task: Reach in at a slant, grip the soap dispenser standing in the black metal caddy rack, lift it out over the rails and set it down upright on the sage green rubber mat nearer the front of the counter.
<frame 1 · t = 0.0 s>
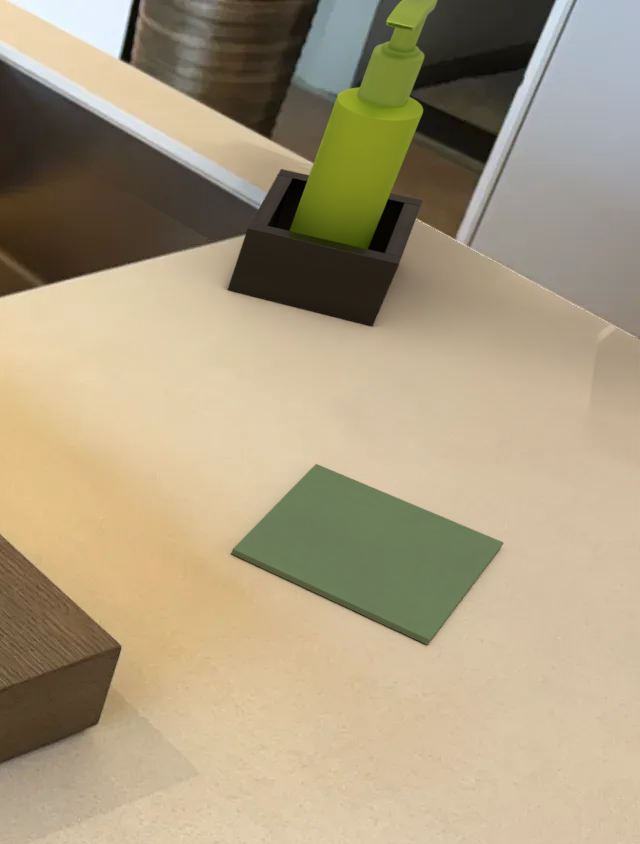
soap dispenser: (313, 277, 107), resting in caddy rack
mat: (366, 550, 83), on the worktop
caddy rack: (313, 274, 107), on the worktop
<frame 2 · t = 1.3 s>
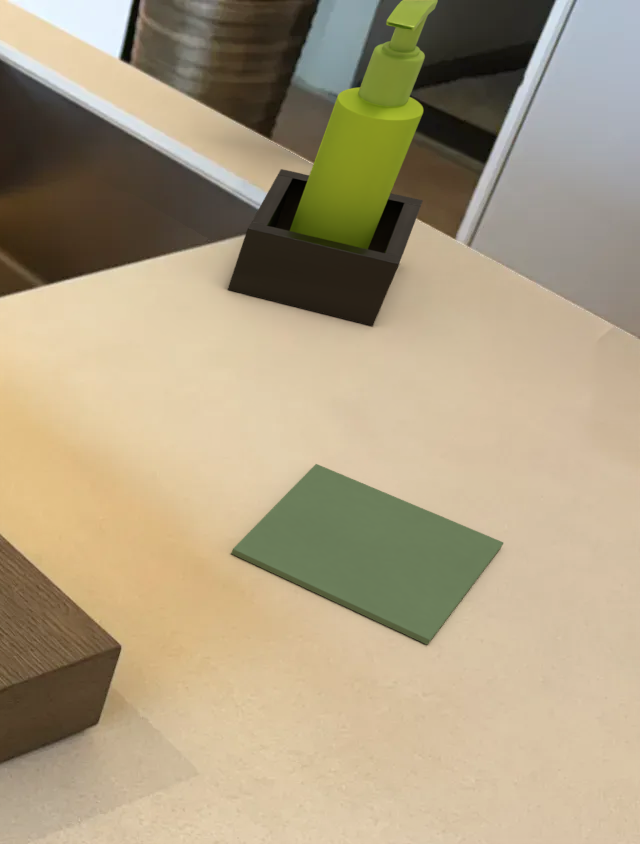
nothing on the worktop moved.
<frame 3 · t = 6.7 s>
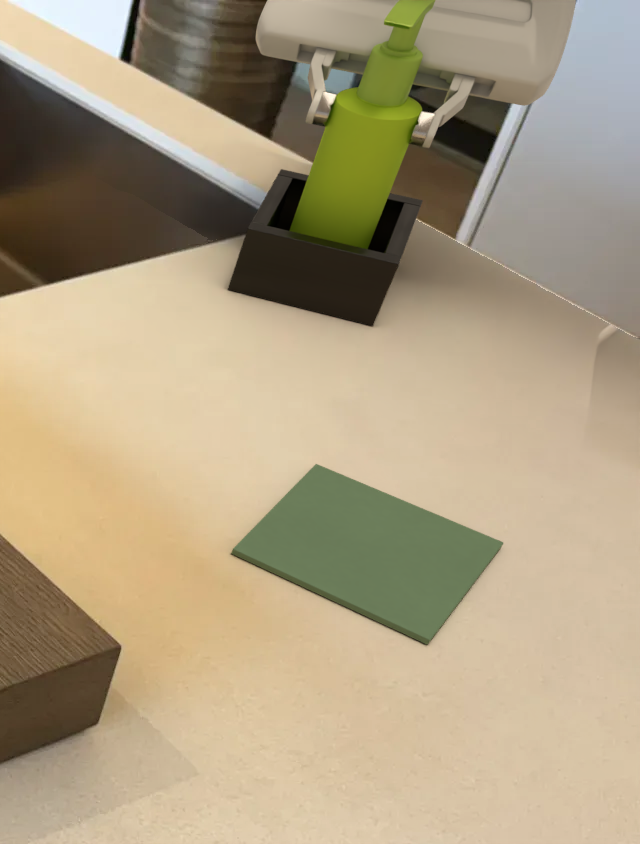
hand: (368, 132, 98), 11 cm above the worktop, tool tilted 45°, fingers closed on soap dispenser, 6 cm apart
soap dispenser: (313, 277, 107), resting in caddy rack, touching gripper
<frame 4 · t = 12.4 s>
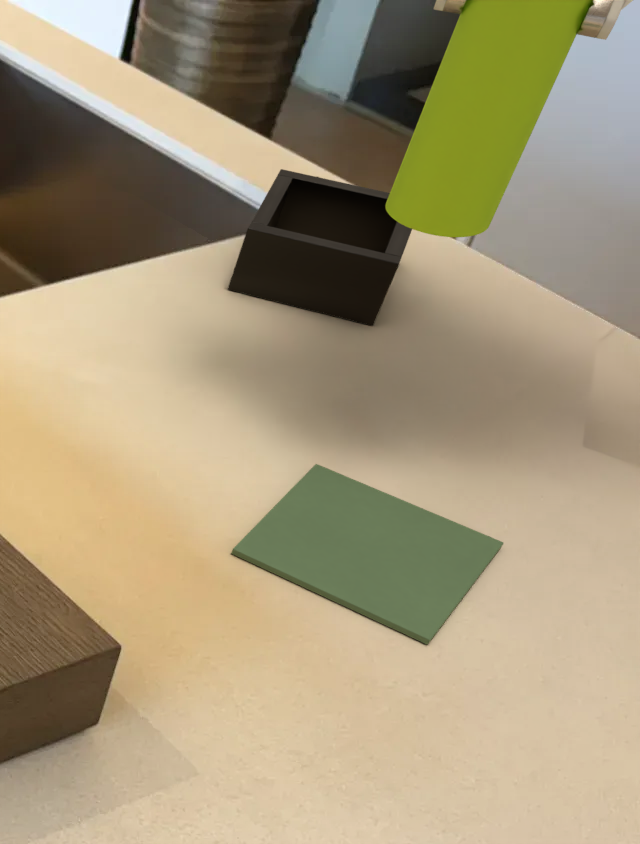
hand: (521, 19, 73), 26 cm above the worktop, tool tilted 45°, fingers closed on soap dispenser, 6 cm apart
soap dispenser: (433, 221, 82), point 15 cm above the worktop, touching gripper
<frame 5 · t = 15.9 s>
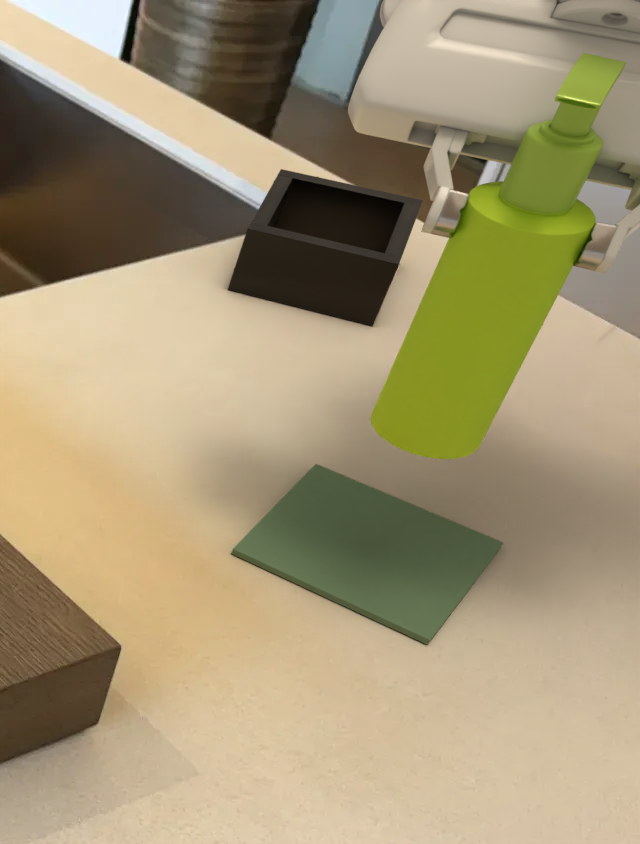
hand: (514, 248, 68), 20 cm above the worktop, tool tilted 45°, fingers closed on soap dispenser, 6 cm apart
soap dispenser: (420, 436, 77), point 8 cm above the worktop, touching gripper
when the fingers open (12 cm above the worktop, at t = 18.6 s): soap dispenser stays where it is, resting on mat.
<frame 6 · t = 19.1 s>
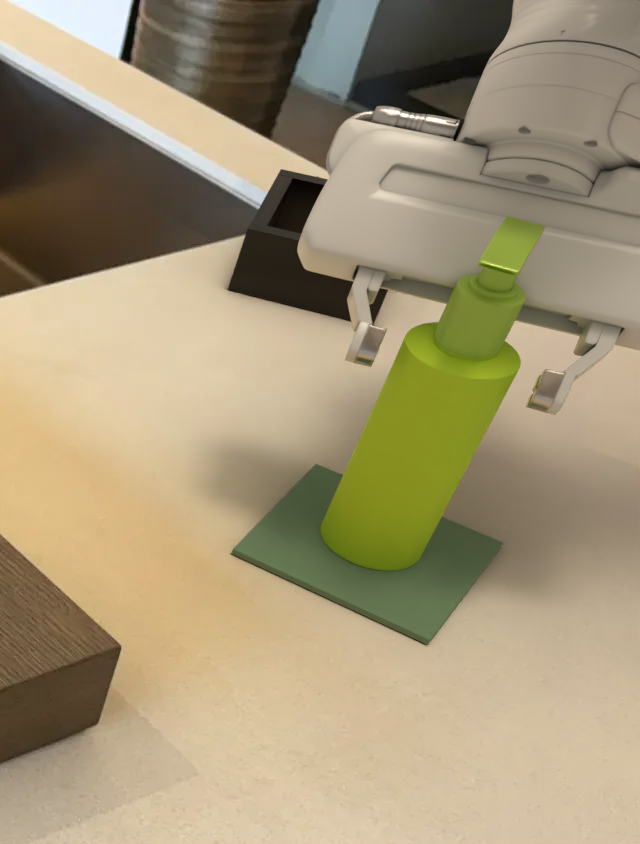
hand: (448, 384, 74), 12 cm above the worktop, tool tilted 45°, fingers open, 8 cm apart
soap dispenser: (366, 547, 83), resting on mat
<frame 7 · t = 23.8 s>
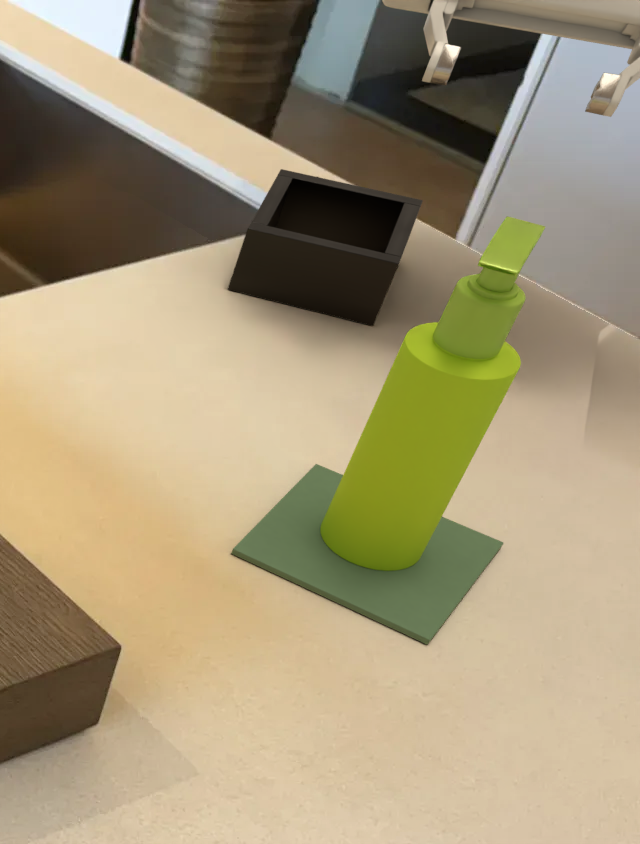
hand: (516, 94, 84), 19 cm above the worktop, tool tilted 45°, fingers open, 8 cm apart
nothing on the worktop moved.
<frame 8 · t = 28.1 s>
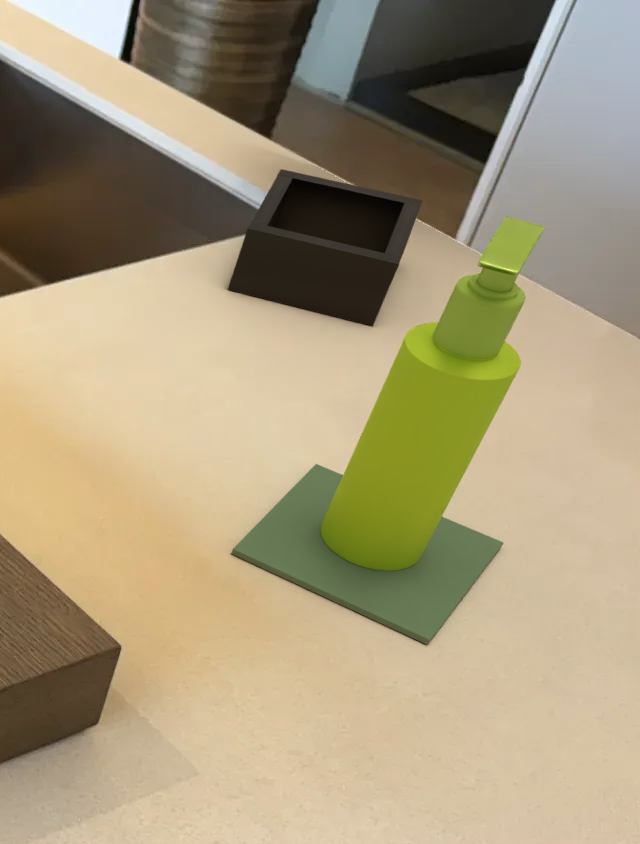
nothing on the worktop moved.
at the end: soap dispenser inside the target area on the mat (0.1 cm from its centre), point 0.2 cm above the mat's base; soap dispenser tilted 0°; soap dispenser touching mat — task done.
